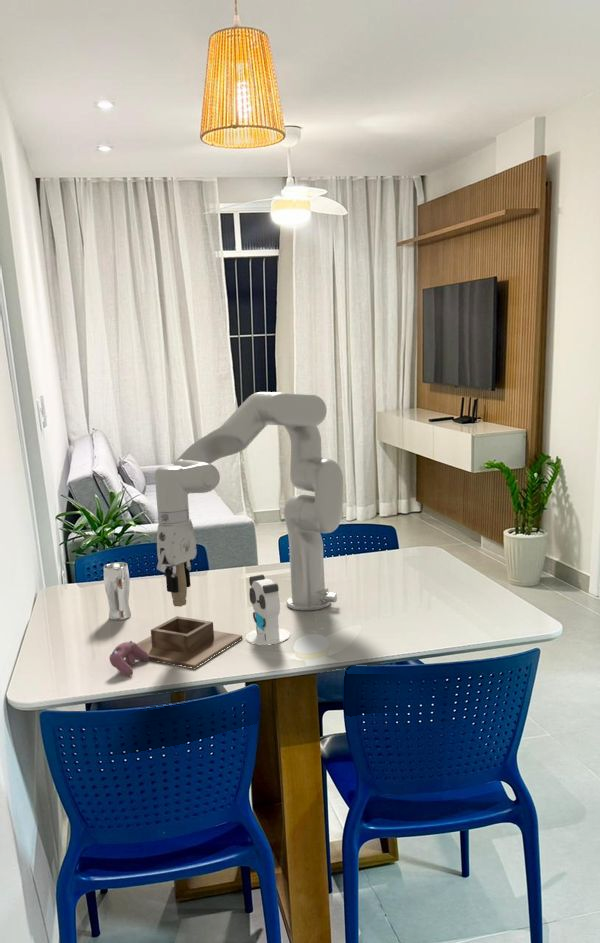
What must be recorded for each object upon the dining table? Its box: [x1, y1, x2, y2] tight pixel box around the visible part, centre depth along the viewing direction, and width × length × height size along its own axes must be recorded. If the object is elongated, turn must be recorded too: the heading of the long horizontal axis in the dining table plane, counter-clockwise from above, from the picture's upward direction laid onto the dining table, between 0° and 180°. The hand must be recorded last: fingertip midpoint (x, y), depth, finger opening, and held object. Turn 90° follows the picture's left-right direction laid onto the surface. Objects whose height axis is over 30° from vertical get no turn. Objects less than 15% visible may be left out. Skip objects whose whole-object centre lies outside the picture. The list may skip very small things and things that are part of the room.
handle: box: [169, 546, 189, 607], centre depth 188 cm, size 5×6×15 cm
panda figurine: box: [245, 574, 291, 646], centre depth 194 cm, size 12×11×15 cm
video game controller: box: [109, 640, 150, 677], centre depth 179 cm, size 10×5×7 cm, turn 165°
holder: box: [136, 615, 243, 669], centre depth 190 cm, size 22×20×6 cm
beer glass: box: [103, 561, 132, 621], centre depth 214 cm, size 7×7×15 cm
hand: (178, 588), depth 188 cm, fingers closed on handle, 4 cm apart
